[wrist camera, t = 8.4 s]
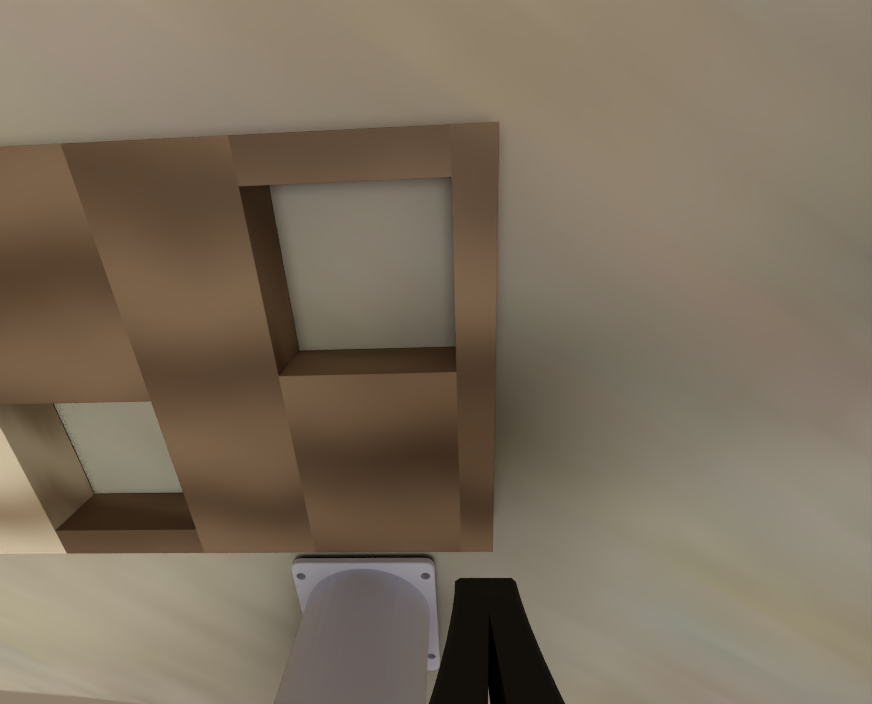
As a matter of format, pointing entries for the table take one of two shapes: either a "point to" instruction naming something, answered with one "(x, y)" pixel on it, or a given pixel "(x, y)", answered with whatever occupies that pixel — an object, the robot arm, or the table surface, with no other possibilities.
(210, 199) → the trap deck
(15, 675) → the table surface
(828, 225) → the table surface
